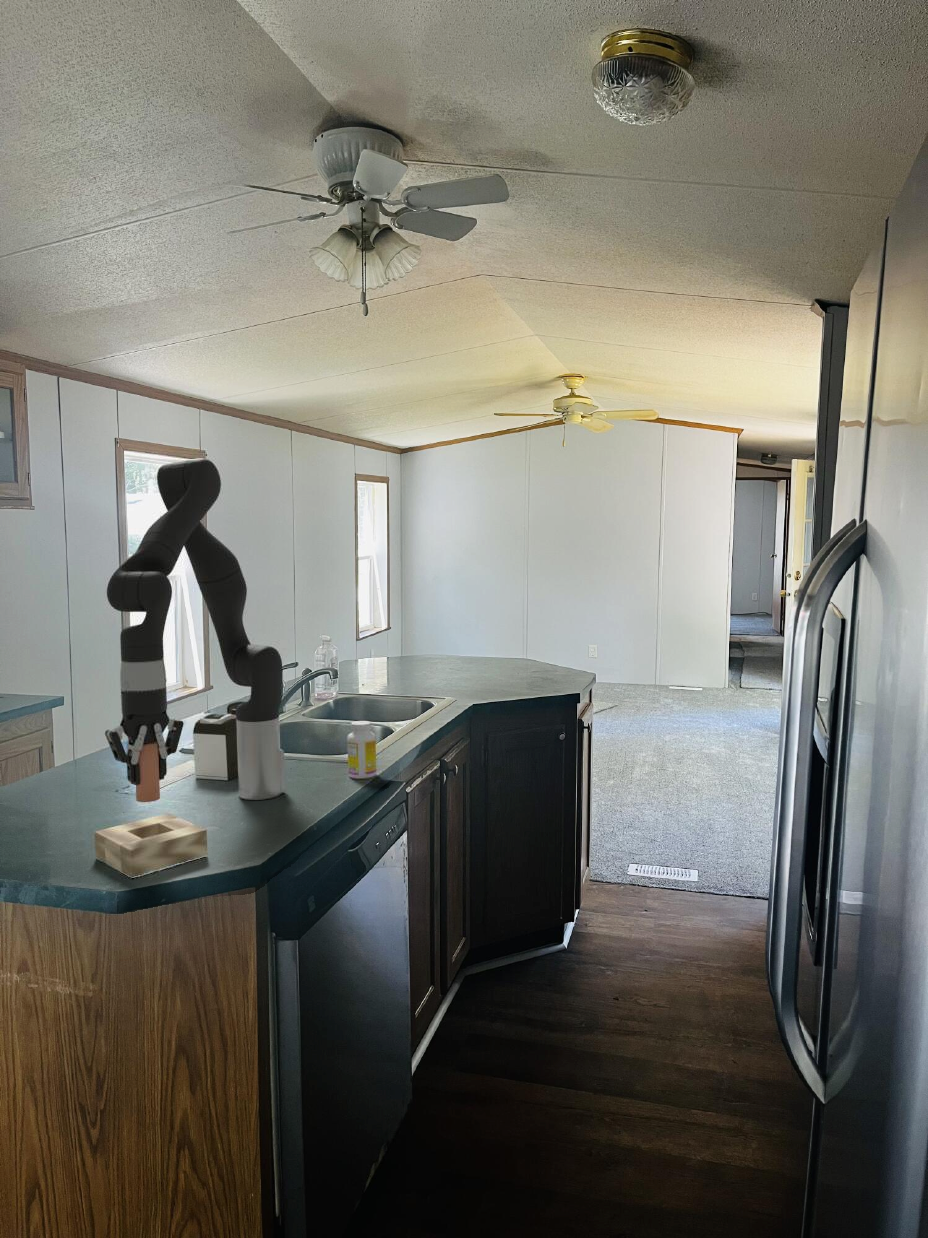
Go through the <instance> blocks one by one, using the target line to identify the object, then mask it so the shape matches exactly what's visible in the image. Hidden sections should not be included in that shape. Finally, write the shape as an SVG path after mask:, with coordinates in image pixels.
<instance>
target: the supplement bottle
mask: <svg viewBox="0 0 928 1238" xmlns="http://www.w3.org/2000/svg"><path fill="white" fill-rule="evenodd" d="M350 728H351V733H348V735H347V738H346V739H347V768H348V770H347V772H348V776H349V777H350V778H351V779H356V780H361V779H363V780H365V779H371V778H374V777H375V776H377V749H376V748H377V745H376V743H377V742H376V741H377V740H376V734H375V733H374V732H373V731H371V730H372V729H371V728H372V721H368V720H357V721H356V720H355V721H352V722H351V723H350Z"/></svg>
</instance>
